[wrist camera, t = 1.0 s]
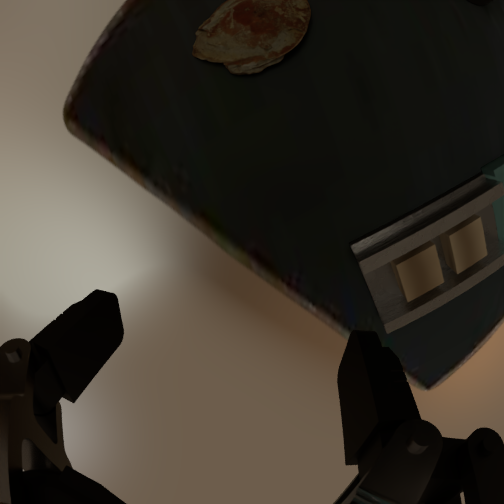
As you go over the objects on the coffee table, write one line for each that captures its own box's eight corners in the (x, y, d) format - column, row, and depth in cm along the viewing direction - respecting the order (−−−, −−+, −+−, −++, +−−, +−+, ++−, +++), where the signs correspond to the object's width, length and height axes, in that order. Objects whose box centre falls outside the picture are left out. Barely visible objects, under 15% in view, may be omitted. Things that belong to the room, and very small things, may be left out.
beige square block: (423, 235, 26) (434, 244, 24) (433, 271, 28) (444, 282, 25) (387, 254, 28) (396, 265, 25) (399, 289, 29) (407, 302, 26)
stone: (253, 96, 26) (249, 91, 23) (187, 52, 24) (176, 44, 21) (330, 20, 21) (334, 9, 18) (261, -20, 19) (258, -33, 17)
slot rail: (480, 172, 23) (501, 177, 19) (495, 248, 26) (514, 260, 22) (348, 242, 29) (357, 257, 25) (379, 315, 32) (388, 336, 28)
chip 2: (467, 210, 24) (480, 216, 22) (474, 246, 26) (487, 255, 23) (437, 228, 26) (449, 236, 23) (446, 264, 27) (457, 274, 24)
